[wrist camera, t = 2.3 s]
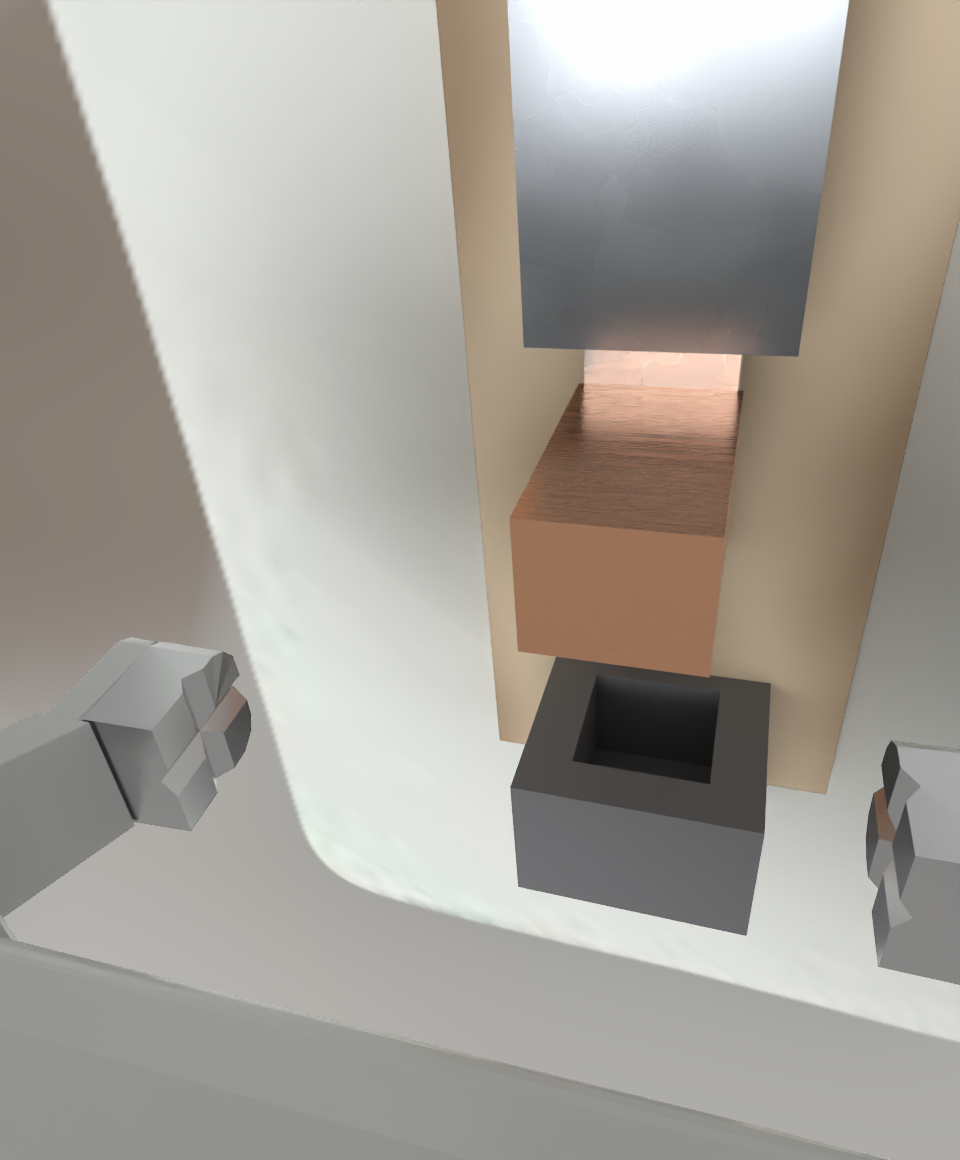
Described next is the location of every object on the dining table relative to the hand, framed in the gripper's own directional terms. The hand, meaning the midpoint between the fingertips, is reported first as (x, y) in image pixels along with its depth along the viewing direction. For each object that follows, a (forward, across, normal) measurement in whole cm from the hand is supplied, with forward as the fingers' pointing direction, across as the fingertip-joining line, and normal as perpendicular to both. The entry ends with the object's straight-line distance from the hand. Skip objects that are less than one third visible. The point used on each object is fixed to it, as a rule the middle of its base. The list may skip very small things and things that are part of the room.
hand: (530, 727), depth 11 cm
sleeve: (+11, -1, -7) cm, 13 cm away
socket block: (+12, -1, +11) cm, 16 cm away
